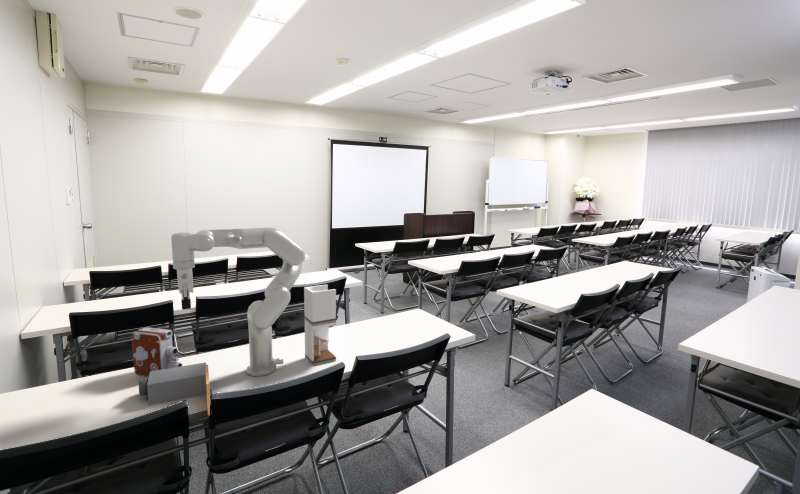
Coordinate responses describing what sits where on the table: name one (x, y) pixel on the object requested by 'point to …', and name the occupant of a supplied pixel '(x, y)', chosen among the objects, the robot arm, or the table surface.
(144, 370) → the red printed upright box
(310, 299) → the display case
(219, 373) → the table surface
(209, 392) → the side door
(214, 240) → the robot arm
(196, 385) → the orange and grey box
